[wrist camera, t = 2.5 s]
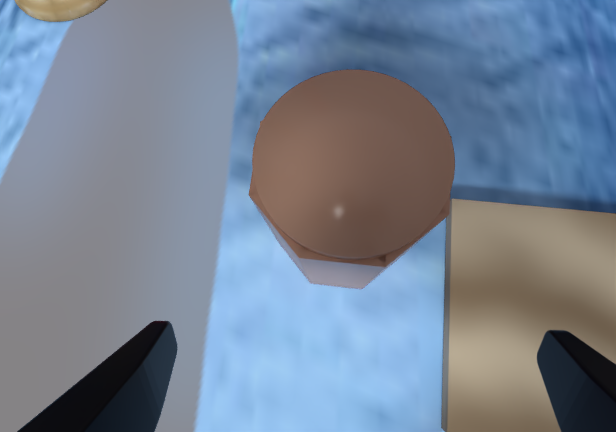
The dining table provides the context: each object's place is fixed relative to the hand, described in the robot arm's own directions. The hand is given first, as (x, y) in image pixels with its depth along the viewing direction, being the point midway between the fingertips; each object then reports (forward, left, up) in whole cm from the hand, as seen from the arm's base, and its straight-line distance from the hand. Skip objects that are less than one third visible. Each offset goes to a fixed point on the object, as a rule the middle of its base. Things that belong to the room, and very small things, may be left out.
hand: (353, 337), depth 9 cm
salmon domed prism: (+6, 0, -12) cm, 14 cm away
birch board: (+2, -11, -12) cm, 16 cm away
